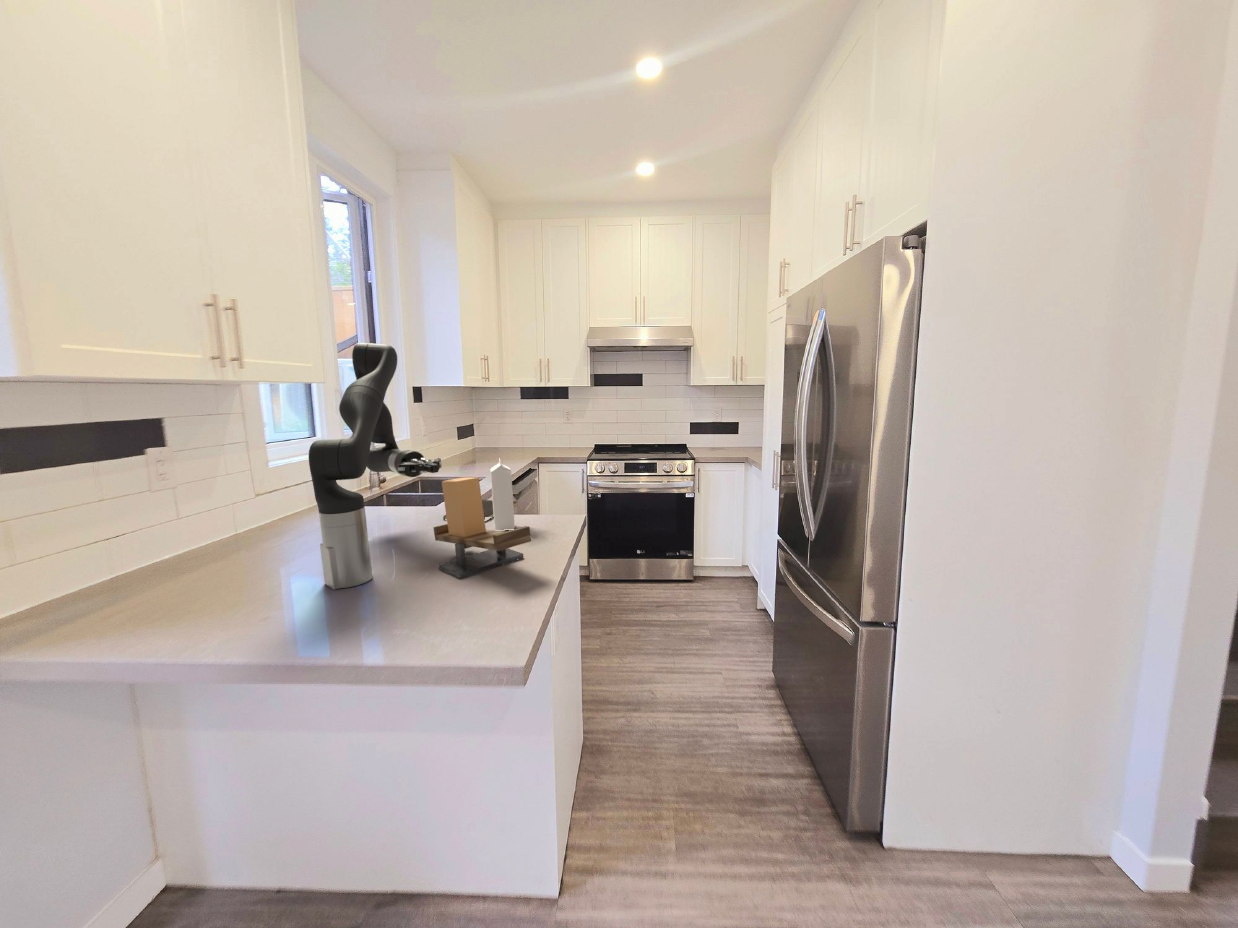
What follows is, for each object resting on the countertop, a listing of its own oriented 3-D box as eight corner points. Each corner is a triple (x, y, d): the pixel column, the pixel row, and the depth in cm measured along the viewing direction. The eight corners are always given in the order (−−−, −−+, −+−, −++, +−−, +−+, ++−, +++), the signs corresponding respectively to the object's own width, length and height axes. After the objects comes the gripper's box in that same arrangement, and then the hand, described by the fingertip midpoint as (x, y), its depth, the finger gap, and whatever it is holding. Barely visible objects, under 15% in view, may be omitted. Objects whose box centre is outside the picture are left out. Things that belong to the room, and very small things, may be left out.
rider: (464, 537, 123) (457, 481, 122) (449, 534, 129) (441, 481, 128) (485, 531, 128) (478, 477, 126) (469, 529, 133) (462, 477, 132)
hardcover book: (517, 507, 186) (517, 501, 186) (485, 524, 164) (484, 517, 164) (480, 505, 191) (479, 499, 190) (443, 521, 169) (442, 515, 169)
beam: (531, 544, 117) (529, 526, 117) (499, 554, 111) (496, 535, 110) (466, 535, 138) (464, 519, 137) (435, 543, 131) (433, 527, 131)
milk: (495, 532, 153) (489, 461, 149) (494, 527, 158) (488, 458, 155) (515, 530, 154) (510, 459, 151) (513, 524, 160) (508, 457, 156)
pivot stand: (523, 558, 128) (521, 533, 127) (460, 579, 115) (457, 552, 114) (501, 550, 135) (499, 527, 134) (439, 569, 122) (436, 543, 121)
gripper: (382, 453, 139) (410, 458, 128) (427, 447, 149) (457, 451, 137) (384, 479, 141) (413, 486, 129) (429, 472, 150) (459, 478, 139)
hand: (435, 468), depth 133 cm, fingers closed
